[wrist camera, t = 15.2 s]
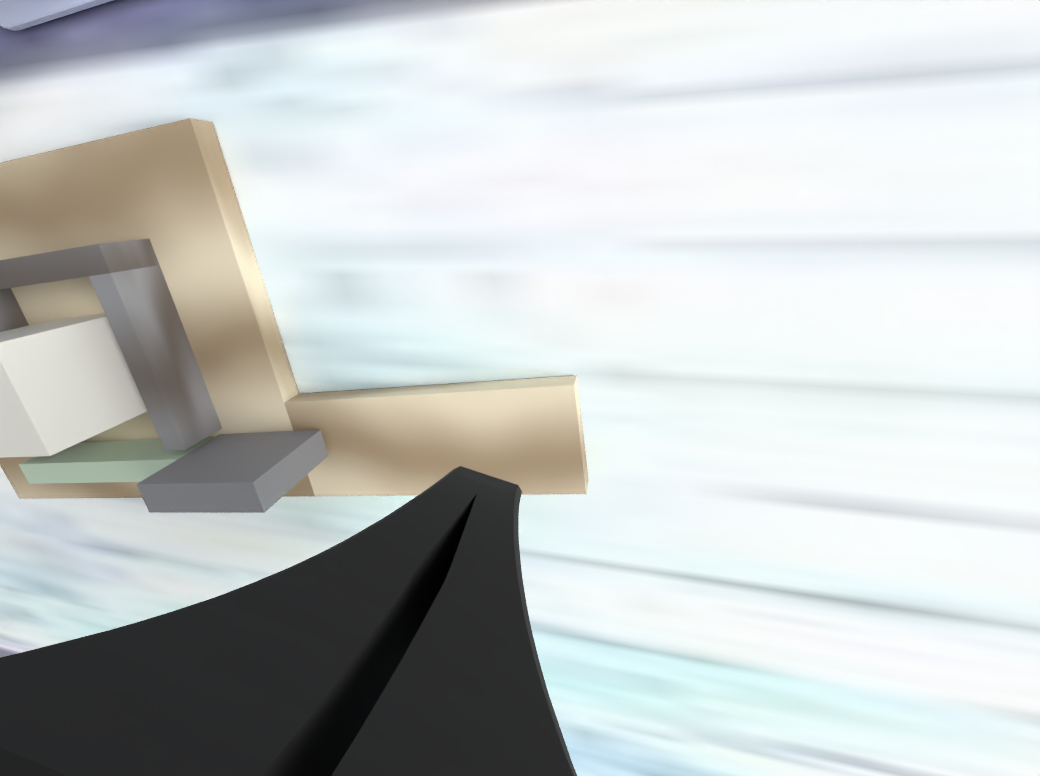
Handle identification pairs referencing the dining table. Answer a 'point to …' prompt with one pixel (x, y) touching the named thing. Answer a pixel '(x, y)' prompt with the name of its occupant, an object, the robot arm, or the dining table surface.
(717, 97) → the dining table surface
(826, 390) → the dining table surface
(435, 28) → the dining table surface
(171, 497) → the gate
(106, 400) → the white cube block
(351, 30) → the dining table surface
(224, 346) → the beige board
